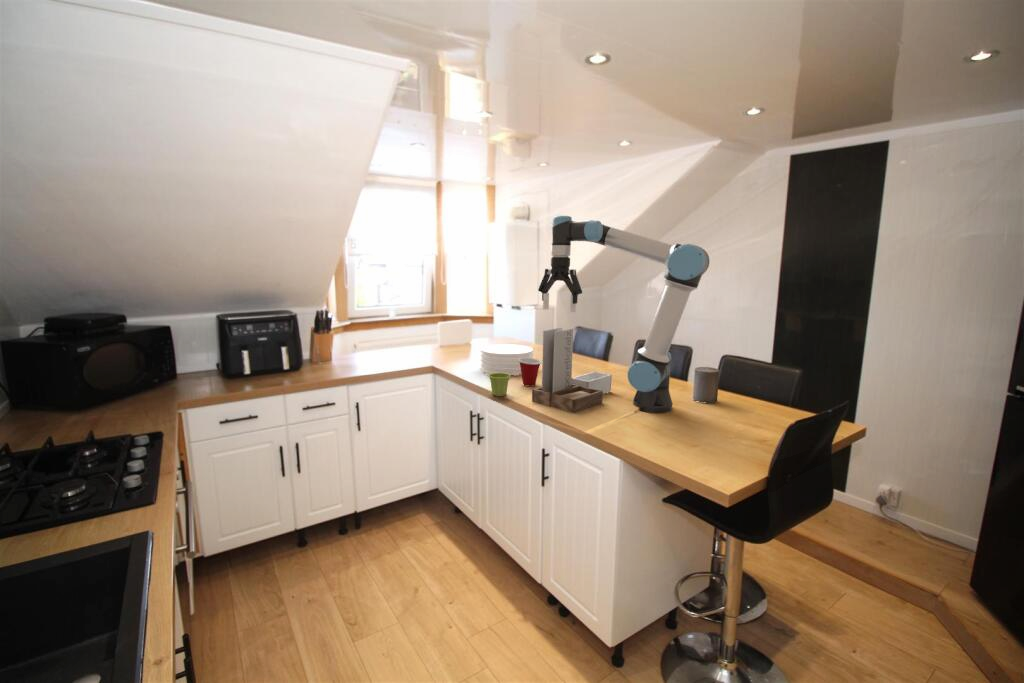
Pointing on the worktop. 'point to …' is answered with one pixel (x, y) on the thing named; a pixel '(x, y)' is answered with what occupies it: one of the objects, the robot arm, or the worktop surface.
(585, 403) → the tray
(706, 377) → the pillar candle
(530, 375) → the plastic cup
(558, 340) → the brochure
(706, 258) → the robot arm
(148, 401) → the worktop surface
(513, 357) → the plate stack
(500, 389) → the plant pot
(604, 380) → the holder
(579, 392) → the offcut top
